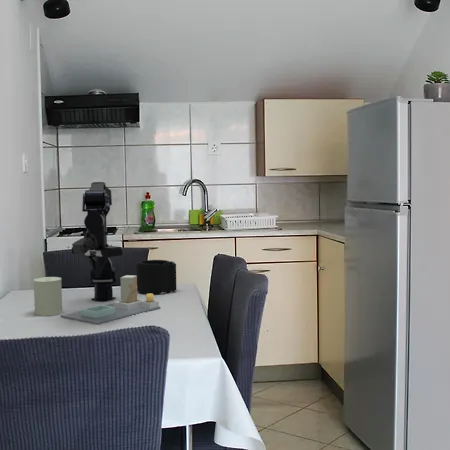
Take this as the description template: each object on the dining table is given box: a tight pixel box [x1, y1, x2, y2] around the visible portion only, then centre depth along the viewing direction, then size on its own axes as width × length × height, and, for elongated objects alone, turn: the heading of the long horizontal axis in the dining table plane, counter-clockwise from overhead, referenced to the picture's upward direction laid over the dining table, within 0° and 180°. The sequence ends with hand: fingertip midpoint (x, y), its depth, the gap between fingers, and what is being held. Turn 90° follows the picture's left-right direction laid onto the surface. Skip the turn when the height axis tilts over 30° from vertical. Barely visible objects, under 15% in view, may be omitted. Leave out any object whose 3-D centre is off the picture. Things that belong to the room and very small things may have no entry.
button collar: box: [141, 299, 160, 309], centre depth 209 cm, size 4×4×2 cm
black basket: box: [136, 259, 177, 296], centre depth 241 cm, size 14×15×12 cm
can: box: [32, 276, 64, 317], centre depth 205 cm, size 9×9×12 cm
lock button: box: [145, 293, 155, 303], centre depth 209 cm, size 2×2×3 cm
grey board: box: [60, 298, 161, 326], centre depth 204 cm, size 18×28×3 cm, turn 143°
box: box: [120, 274, 138, 304], centre depth 210 cm, size 5×4×11 cm
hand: (97, 276), depth 199 cm, fingers closed
